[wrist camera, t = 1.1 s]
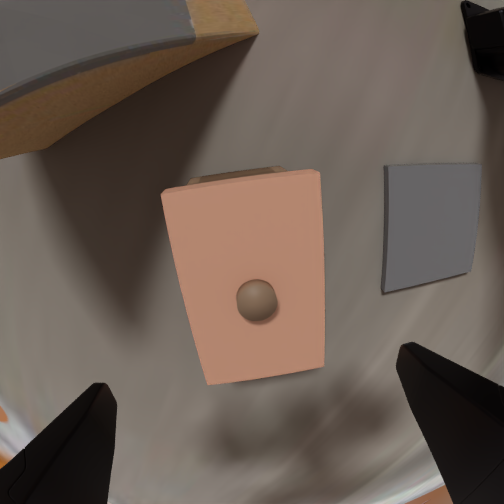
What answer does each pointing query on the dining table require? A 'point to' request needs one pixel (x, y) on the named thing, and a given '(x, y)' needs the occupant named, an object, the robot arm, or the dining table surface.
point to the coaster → (429, 222)
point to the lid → (251, 272)
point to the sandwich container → (97, 57)
